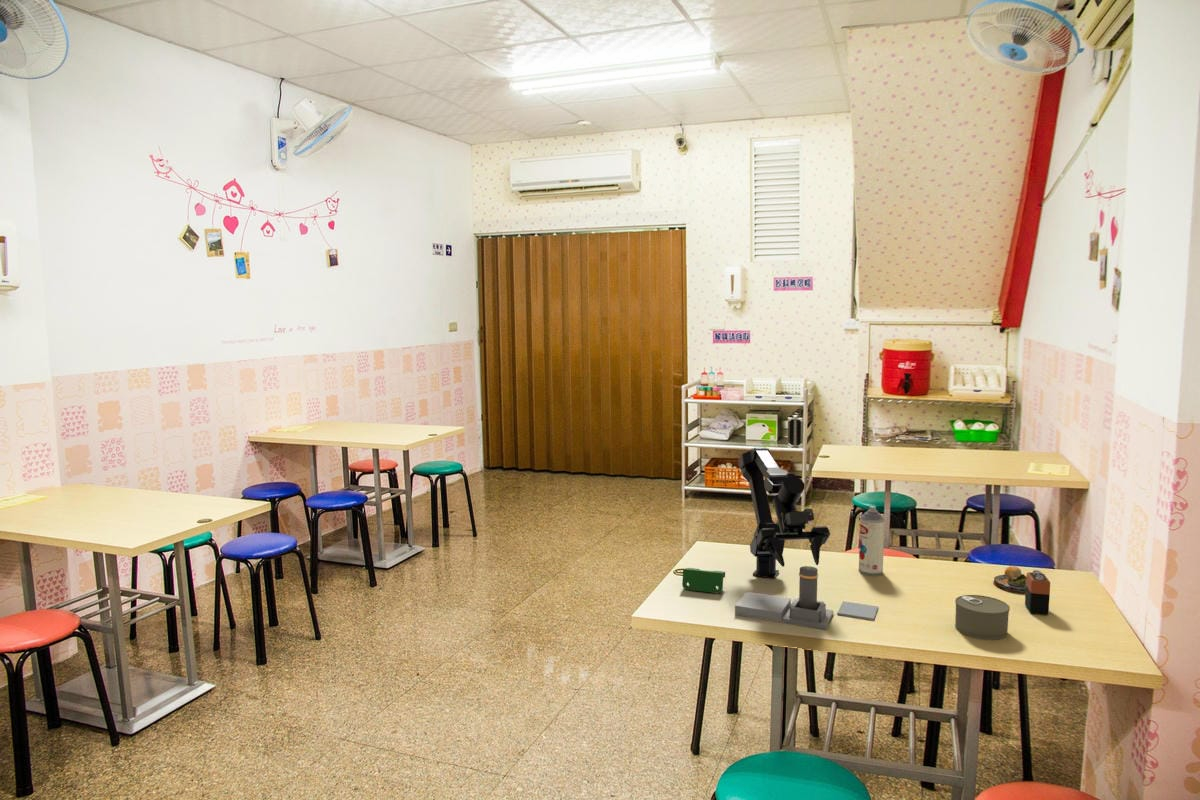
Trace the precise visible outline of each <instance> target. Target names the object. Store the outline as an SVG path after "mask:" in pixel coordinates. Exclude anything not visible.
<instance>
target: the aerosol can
mask: <svg viewBox="0 0 1200 800" xmlns="http://www.w3.org/2000/svg"><path fill="white" fill-rule="evenodd" d="M884 541H885V516H883V515H882V514H881V513H880V512H879V511H878V510H877V507H876V506H875V505H869V509H868V510H867V511H865V512H864V513H863V514H862V515H860V519H859V549H858V554H859V555H858V572H859V573H860V574H862V575H867V576H872V577H873V576H881V575H883V574H884V573H883V572H884V547H885V544H884Z"/></svg>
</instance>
